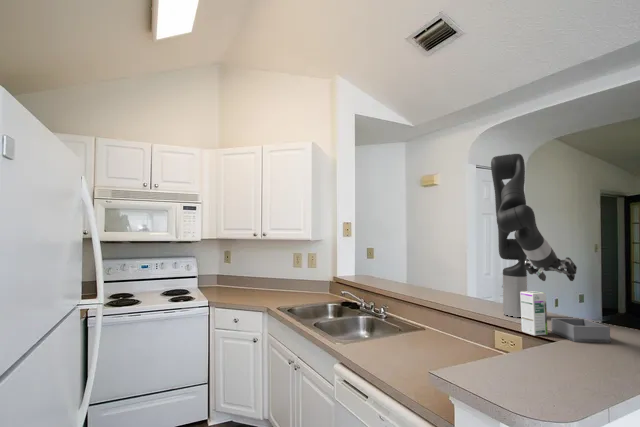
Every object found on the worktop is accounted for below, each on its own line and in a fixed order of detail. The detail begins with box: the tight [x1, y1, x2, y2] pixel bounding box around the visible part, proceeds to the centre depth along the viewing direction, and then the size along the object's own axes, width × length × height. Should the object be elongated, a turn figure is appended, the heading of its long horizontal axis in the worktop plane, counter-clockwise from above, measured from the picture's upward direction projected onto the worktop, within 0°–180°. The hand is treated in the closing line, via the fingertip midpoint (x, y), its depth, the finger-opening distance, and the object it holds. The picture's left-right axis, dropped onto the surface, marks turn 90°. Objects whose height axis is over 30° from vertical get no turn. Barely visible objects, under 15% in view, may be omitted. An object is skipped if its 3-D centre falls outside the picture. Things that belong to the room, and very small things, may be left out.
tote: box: [550, 317, 611, 344], centre depth 121 cm, size 12×12×5 cm
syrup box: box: [520, 290, 548, 337], centre depth 125 cm, size 6×6×14 cm
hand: (558, 278), depth 122 cm, fingers open, 8 cm apart
